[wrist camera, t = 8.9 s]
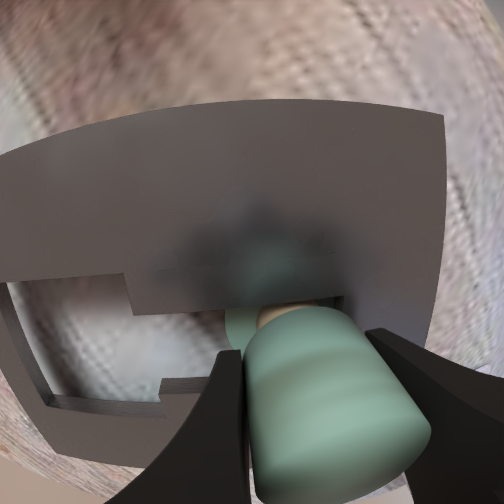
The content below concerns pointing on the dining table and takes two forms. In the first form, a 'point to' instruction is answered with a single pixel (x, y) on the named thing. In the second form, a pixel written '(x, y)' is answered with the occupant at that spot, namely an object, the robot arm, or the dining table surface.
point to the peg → (320, 405)
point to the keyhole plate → (220, 234)
